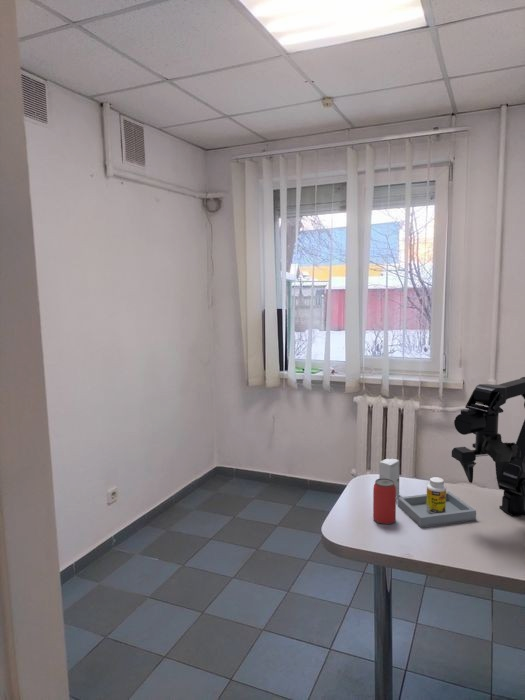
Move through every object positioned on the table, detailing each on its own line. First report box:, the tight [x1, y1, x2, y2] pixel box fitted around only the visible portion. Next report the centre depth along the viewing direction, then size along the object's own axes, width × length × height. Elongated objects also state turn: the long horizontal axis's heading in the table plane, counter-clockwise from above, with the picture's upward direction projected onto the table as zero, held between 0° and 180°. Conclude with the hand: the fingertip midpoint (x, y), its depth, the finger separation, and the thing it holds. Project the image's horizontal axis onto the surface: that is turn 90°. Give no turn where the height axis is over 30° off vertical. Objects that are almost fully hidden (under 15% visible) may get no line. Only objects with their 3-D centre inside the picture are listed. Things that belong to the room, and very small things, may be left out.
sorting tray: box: [397, 491, 477, 529], centre depth 149 cm, size 18×14×3 cm
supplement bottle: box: [426, 476, 447, 514], centre depth 149 cm, size 6×6×10 cm
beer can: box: [372, 478, 397, 525], centre depth 145 cm, size 7×7×12 cm
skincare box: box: [378, 457, 400, 498], centre depth 162 cm, size 6×4×12 cm
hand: (484, 480), depth 141 cm, fingers open, 9 cm apart
